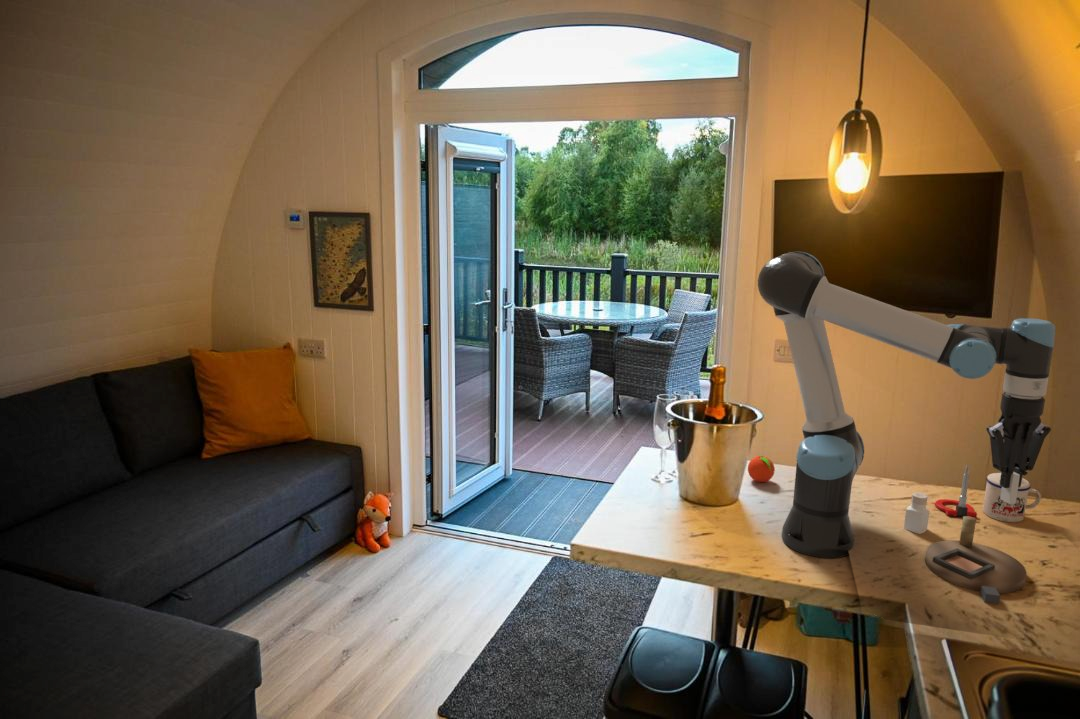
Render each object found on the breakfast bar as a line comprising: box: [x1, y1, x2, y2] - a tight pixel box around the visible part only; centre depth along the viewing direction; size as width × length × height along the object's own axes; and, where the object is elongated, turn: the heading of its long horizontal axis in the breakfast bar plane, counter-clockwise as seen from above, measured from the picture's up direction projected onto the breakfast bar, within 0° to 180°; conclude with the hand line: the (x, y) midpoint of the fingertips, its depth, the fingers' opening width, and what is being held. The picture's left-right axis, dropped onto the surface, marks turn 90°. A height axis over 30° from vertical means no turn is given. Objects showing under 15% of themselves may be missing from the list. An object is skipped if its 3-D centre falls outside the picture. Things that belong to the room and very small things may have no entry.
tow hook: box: [934, 465, 978, 519], centre depth 185 cm, size 8×13×9 cm
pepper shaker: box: [903, 492, 930, 535], centre depth 173 cm, size 4×4×10 cm
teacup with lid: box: [982, 472, 1042, 523], centre depth 182 cm, size 12×9×12 cm
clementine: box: [747, 455, 776, 483], centre depth 202 cm, size 8×7×7 cm
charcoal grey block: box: [979, 586, 1001, 605], centre depth 145 cm, size 2×3×3 cm
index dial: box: [924, 516, 1027, 594], centre depth 155 cm, size 18×18×8 cm
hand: (1007, 501), depth 160 cm, fingers closed
